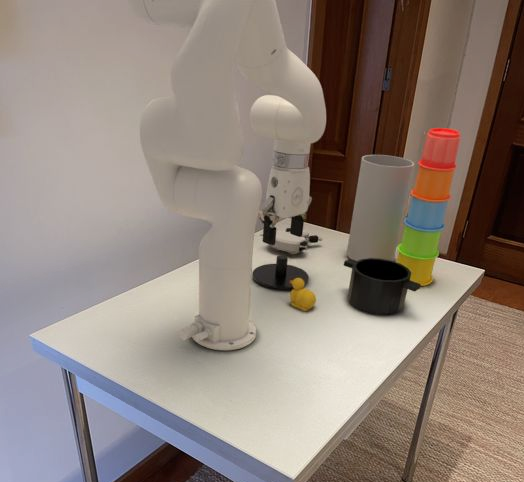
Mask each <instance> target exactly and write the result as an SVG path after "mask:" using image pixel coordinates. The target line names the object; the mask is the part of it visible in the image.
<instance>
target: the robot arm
mask: <svg viewBox="0 0 524 482" xmlns="http://www.w3.org/2000/svg"><path fill="white" fill-rule="evenodd" d="M127 1H128V3H129V6H130V7H131V10H132V11H133V12H134V13H135V15H136V16H137V17H138V18H139V19H140V20H141V21H142V22H144V23H146V24H147V25H148V24H149V25H153V26H164V27H175V28H178V27H179V28H188V29H190V31H189V33H188V35H187V36H186V39H185V40H184V42H183V44H182V46H181V47H180V49H179V50H178V53H177V54H176V57H174V60H173V64H172V67H171V70H170V83H171V84H170V85H171V89H172V93H173V96H159V97H156V98H154V99H152V100H150V101H149V102H148V103H147V104H146V106H145V107H144V108H143V111H142V113H141V117H140V120H139V140H140V146H141V150H142V153H143V156H144V159H145V162H146V164H147V167H148V170H149V172H150V174H151V177H152V181H153V183H154V186H155V189H156V192H157V195H158V197H159V199H160V201H161V203H162V204H163V206H164V207H165V208H166V209H167V210H168V211H169V212H171V213H173V214H176V215H180V216H184V217H189V218H193V219H197V220H201V221H205V222H209V223H210V224H211V228H210V230H208V232H207V233H206V234H205V235H204V236H203V237H202V239H201V240H200V243H199V246H198V314H197V315H194V321H193V322H192V323H191V325H190V326H187V327H185V328H183V329H181V330H179V333H178V335H179V337H180V339H182V340H183V341H186V340H188V339H190V338H192V340H193V341H194V342H195V343H197V344H198V345H200V346H202V347H204V348H207V349H209V350H210V349H211V350H215V351H232V350H233V351H234V350H238V349H242V348H245V347H247V346H249V345H251V344H252V343H253V342H254V341H255V339H256V337H257V327H256V325H255V324H254V323H253V322H252V321H251V320H250V309H251V307H250V306H251V291H252V289H251V288H252V274H253V255H254V253H253V252H254V241H255V235H256V234H255V232H256V226H257V222H258V217H259V220H260V222H261V225H262V226H263V230H262V235H263V236H262V243H264V244H267V245H268V244H269V245H275V240H276V231H277V223H278V222H279V220H280V219H282V220H284V219H285V220H286V219H288V218H291V219H290V227H289V228H290V234H292V235H295V236H298V237H302V233H303V229H304V224H305V220H306V218H307V213H308V212H309V210H310V205H311V203H312V200H313V197H312V196H311V195H310V190H311V188H310V187H311V173H310V167H309V163H310V162H309V161H310V153H311V145H312V144H314V143H316V142H318V141H319V140H320V139H321V138H322V137H323V135H324V133H325V131H326V126H327V108H326V102H325V97H324V91H323V88H322V85H321V82H320V80H319V79H318V77H317V76H316V74H315V73H314V72H313V71H312V70H311V69H310V68H309V67H308V66H307V64H306V63H304V61H302V60H301V58H300V57H298V56H297V54H295V53H293V51H291V49H289V48H288V46H287V42H286V39H285V34H284V31H283V25H282V22H281V19H280V15H279V14H280V13H279V10H278V6H277V1H276V0H127ZM235 63H236V66H237V69H238V71H239V72H240V74H241V76H242V77H243V78H244V79H245V80H247V82H250V83H251V84H253V85H255V86H256V87H258V88H260V89H261V90H264V91H266V92H267V93H270V94H265V95H262V96H260V97H258V98H257V99H256V100H255V101H254V102H253V104H252V105H251V108H250V113H249V123H250V126H251V128H252V130H253V132H254V133H255V134H257V135H259V136H260V137H263V138H267V139H274V141H273V154H272V163H271V164H272V166H271V168H270V173H269V176H268V182H267V187H266V194H265V195H266V196H265V201H264V202H263V203H262V199H263V186H262V181H260V178H259V177H258V176H257V175H256V174H255V173H254V172H252V171H251V170H249V169H247V168H244V167H241V166H238V164H240V162H241V160H242V157H243V156H244V155H243V154H244V134H243V128H242V123H241V117H240V111H239V104H238V100H237V94H236V93H237V92H236V86H235V85H236V84H235V77H234V71H235V69H234V68H235ZM271 217H272V218H271ZM269 245H268V246H269Z"/></svg>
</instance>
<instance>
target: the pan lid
mask: <svg viewBox="0 0 524 482" xmlns="http://www.w3.org/2000/svg"><path fill="white" fill-rule="evenodd" d="M288 260H289V257H288V256H287V255H285V254H277V256H276V260H275V261H276V262H275V263H267V264H262V265H259V266H257V267H255V268H254V269H253V270H252V274H251V277H252V279H253V280H254V281H255V282H257V283H258V284H260V285H262V286H264V287H268V288H271V289H278V290H293V289H294V288H293V286H292V284H290V283H289V282H290V281H291V280H294V279H296V278H301V279H303V281H304V286H306V284H308V283H309V280H310V275H309V274H308V272H307V271H305V269H302V268H300V267H297V266H295V265H291V264H288Z"/></svg>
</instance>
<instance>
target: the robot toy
mask: <svg viewBox="0 0 524 482" xmlns="http://www.w3.org/2000/svg"><path fill="white" fill-rule="evenodd" d="M290 228H291V227H286V229H285V231H283V230H276V240H275V245H269V244H267V245H268V246H269V247H271V248H273V249H274V250H277V251H283V252H287V253H289V254H290V255H296V254H298V253H300V252H303V251H304V250H306V249H308V243H310V244H315V243H318V242H321V241H323V237H320V236H318V235H315V234H314V235H310V232H309V230H307V229H304V228H303V233H302V237H298V236H295V235H292V234H290ZM259 235H260V237H263V233H261V234H259Z"/></svg>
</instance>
